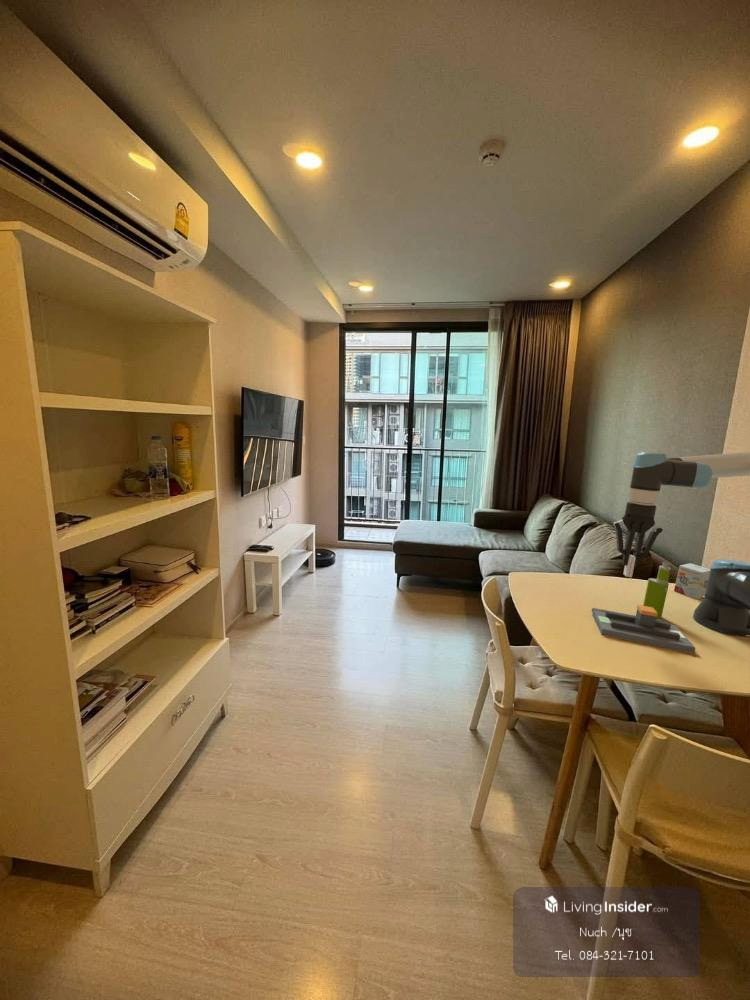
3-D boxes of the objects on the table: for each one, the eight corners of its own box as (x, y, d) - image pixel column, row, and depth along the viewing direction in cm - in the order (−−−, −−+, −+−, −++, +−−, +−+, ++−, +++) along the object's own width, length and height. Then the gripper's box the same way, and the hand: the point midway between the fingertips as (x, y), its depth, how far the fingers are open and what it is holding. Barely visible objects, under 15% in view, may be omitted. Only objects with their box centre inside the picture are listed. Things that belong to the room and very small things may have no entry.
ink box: (672, 591, 158) (678, 564, 156) (684, 588, 161) (690, 562, 159) (697, 599, 150) (703, 571, 148) (708, 597, 154) (714, 569, 152)
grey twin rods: (665, 624, 127) (666, 620, 127) (669, 628, 124) (670, 624, 124) (590, 610, 134) (591, 606, 134) (592, 614, 132) (593, 610, 131)
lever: (649, 625, 121) (652, 607, 120) (653, 631, 117) (657, 613, 116) (633, 622, 122) (637, 604, 121) (638, 628, 118) (641, 610, 117)
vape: (658, 619, 131) (669, 564, 127) (639, 611, 136) (650, 559, 132) (663, 617, 132) (675, 563, 129) (645, 609, 138) (656, 558, 134)
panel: (674, 630, 123) (676, 620, 122) (693, 653, 110) (696, 642, 109) (592, 615, 131) (593, 605, 130) (601, 634, 118) (603, 624, 117)
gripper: (662, 503, 116) (647, 575, 120) (614, 498, 120) (601, 568, 125) (672, 507, 109) (656, 583, 113) (620, 502, 113) (606, 575, 118)
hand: (627, 575), depth 119 cm, fingers closed
